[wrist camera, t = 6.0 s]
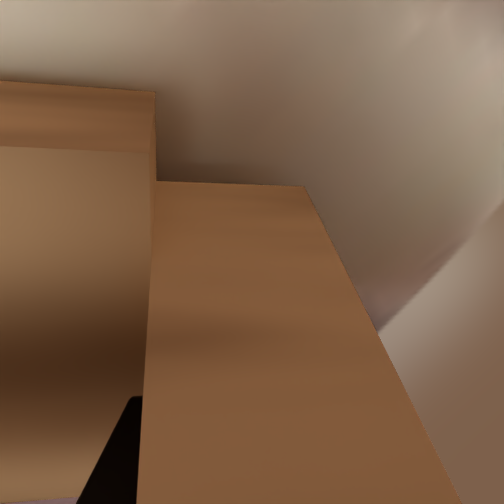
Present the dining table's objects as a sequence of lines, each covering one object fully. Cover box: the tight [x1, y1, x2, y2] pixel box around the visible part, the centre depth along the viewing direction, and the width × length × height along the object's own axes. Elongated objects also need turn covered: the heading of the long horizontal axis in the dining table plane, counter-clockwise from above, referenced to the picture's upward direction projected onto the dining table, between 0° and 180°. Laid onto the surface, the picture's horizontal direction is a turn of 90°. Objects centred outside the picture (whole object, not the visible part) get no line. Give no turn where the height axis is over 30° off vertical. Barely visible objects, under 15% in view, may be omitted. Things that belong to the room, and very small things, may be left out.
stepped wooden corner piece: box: [0, 81, 462, 504], centre depth 8 cm, size 10×8×9 cm
